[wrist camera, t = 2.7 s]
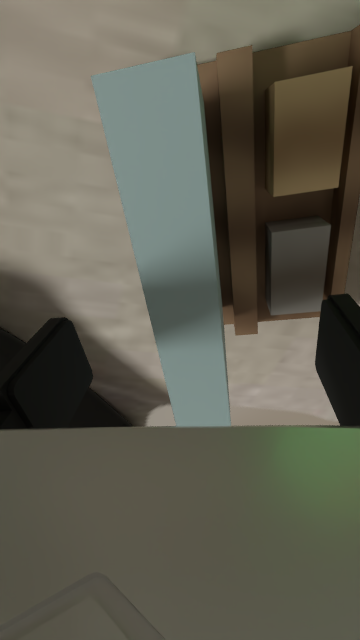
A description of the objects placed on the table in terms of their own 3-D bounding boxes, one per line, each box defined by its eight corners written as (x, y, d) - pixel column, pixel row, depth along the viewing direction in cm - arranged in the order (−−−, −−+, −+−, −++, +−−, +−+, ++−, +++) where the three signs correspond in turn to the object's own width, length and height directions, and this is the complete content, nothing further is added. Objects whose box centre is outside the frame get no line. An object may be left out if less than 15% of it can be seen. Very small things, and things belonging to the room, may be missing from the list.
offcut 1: (264, 90, 19) (274, 81, 16) (329, 77, 18) (352, 66, 15) (265, 188, 22) (273, 197, 19) (320, 180, 22) (338, 187, 19)
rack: (122, 84, 20) (110, 77, 18) (371, 29, 18) (397, 12, 15) (171, 323, 31) (167, 340, 28) (332, 310, 28) (344, 327, 26)
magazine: (143, 499, 33) (-265, 441, 16) (125, 507, 34) (-268, 462, 18) (140, 375, 45) (-96, 268, 29) (127, 384, 47) (-106, 288, 30)
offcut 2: (265, 222, 23) (271, 232, 21) (317, 215, 23) (330, 225, 20) (265, 298, 27) (270, 315, 25) (310, 294, 26) (321, 311, 24)
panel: (160, 111, 20) (90, 76, 8) (203, 102, 20) (194, 52, 8) (191, 310, 28) (178, 433, 17) (222, 307, 28) (231, 432, 16)
